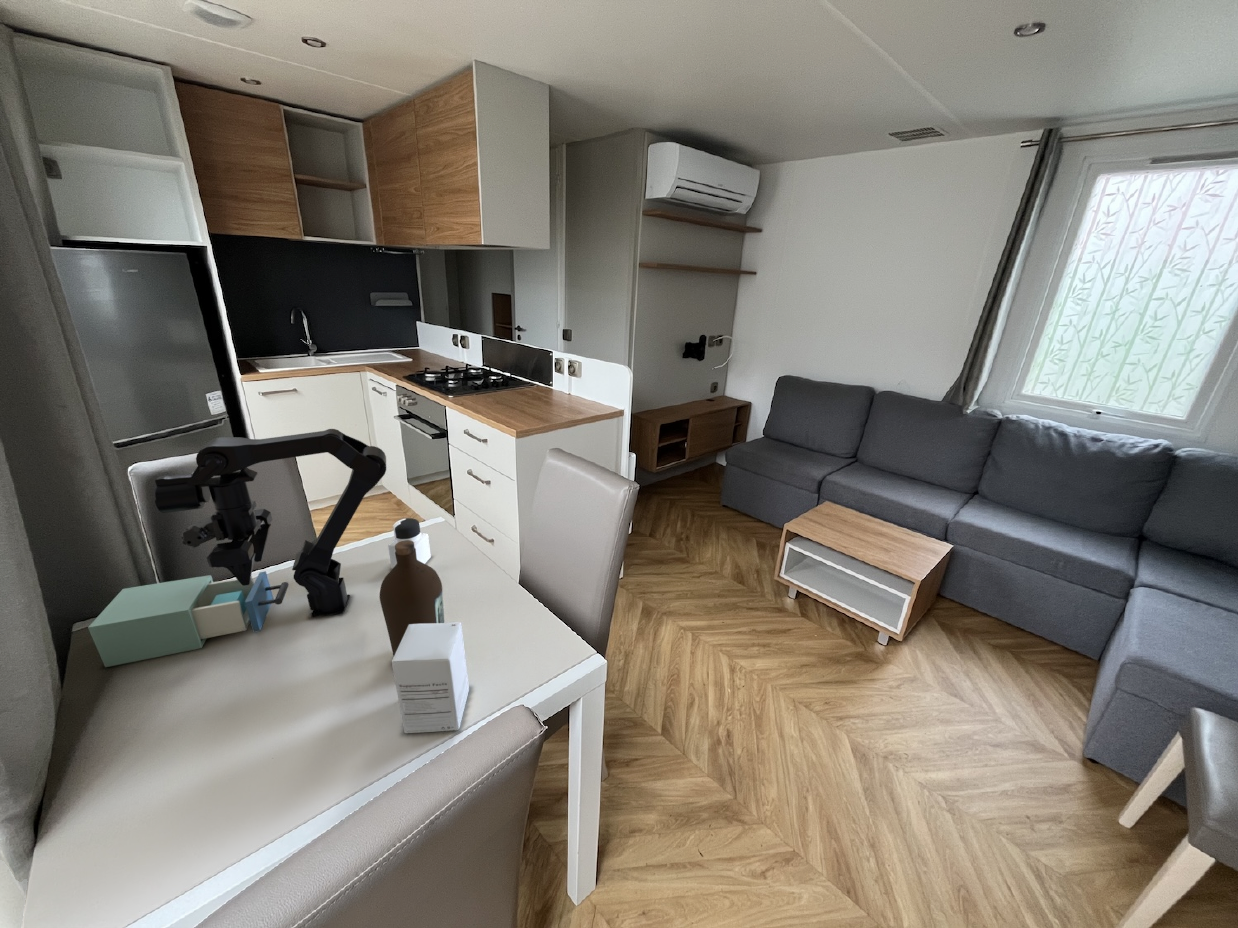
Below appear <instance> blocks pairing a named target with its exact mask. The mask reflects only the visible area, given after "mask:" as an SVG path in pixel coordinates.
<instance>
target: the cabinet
mask: <svg viewBox="0 0 1238 928" xmlns="http://www.w3.org/2000/svg"><path fill="white" fill-rule="evenodd" d="M212 582H214V580H213V577H212V575H211V574H209V575H202V576H196V577H190V578H184V579H183V578H182V579H177V580H170V581H163V582H158V583H151V584H146V585H139V586H132V587H126V588H122V589H121V591H119V593H118V594H117V595H116V596H115V597H114V598H113V599H112V600H111V602H110V603H109V604H107V606H106V607H105V608H104V609H103V610H102V611H101V612H100V614H98V616H97V617H96V618H95V619H94V620H93V621H92V622H91V623H90V624H89V626H88V627H87V629H88V631H89V633H90V636H91V638H92V641H93V643H94V645H95V647H96V651H97V652H98V654H99V656H100V659H101V661H102V663H103V665H104V668H109V667H114V666H119V665H124V664H130V663H134V662H135V663H136V662H139V661H143V660H149V659H154V658H155V659H156V658H159V657H164V656H171V655H176V654H180V653H184V652H189V651H194V650H199V649H202V648H203V646H204V644H205V642H207V639H208V638H204V639H200V636H199V633H198V630H197V627H196V624H195V621H194V619H193V616H192V613H191V610H192V608H193V607H194V605H195V603H196V602H197V600H198V599H199V597H200V596H201V594H202V593H203V591H204V590H205V588H206V586H207V585H208V583H212Z"/></svg>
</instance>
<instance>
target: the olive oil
mask: <svg viewBox="0 0 1238 928" xmlns="http://www.w3.org/2000/svg"><path fill="white" fill-rule="evenodd" d="M395 550H396V552H395V555H396V561H397V564H396V565H395V567H394V568H393V569H392V568H391V569H390V571H389V572H388V573H387V574H386V575H385V576H384V578H383V580H382V582H381V584H380V589H379V603H380V606H381V610H382V614H383V618H384V622H385V627H386V629H387V635H388V638H389V642H390V647H391V651H392V656H393V658H394V655H395V653H396V651H397V649H398V647H399V645H400V642H401V640H402V638H403V636H404V634H405V632H406V630H407V627H408V625H409V624H429V623H445V612H444V609H445V608H444V593H443V591H444V590H443V583H442V580H441V578H440V576H439V574H438V573H437V571H436V570H435V569H434V568H433V567H431V566H429V565H428V564H427V563H425V564H424V563H422V562H420V561H418V560H417V557H416V549H415V548H414V542H413V541H410V540H404V541H400V542H398V543H397V544H396V545H395Z"/></svg>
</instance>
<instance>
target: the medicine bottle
mask: <svg viewBox="0 0 1238 928" xmlns="http://www.w3.org/2000/svg"><path fill="white" fill-rule="evenodd" d="M392 530H393V535H394V536H393V537H394V539H393V540H392V541H391V542H390V543H389V544H388V545H387V549H388V555H389V560H390V567H391V570H392V569H393V568H394V567H395V565H396V564H397V561H396V555H395V552H396V550H395V545H396V544H397V543H398V542H400V541H404V540H410V541H413V542H414V548H415V549H416V557H417V560H418V561H420V562H422V563H424V564H427V562H428V561H429V560H430V559H431V557H432V554H431V547H430V540H429V538H430V537H429V534H428V533H424V532H423V533H422V532H421V526H420V521H419V520H418V519H416V518H411V517H406V518H402V519H398V520H397V521H396V522H394V524H392Z"/></svg>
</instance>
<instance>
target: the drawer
mask: <svg viewBox="0 0 1238 928" xmlns="http://www.w3.org/2000/svg"><path fill="white" fill-rule="evenodd" d="M289 585H290V584H289V582H287V581H284V582H281V584H276V585H272V586H271V584H270V581H269V578H268V574H267V571H266V570H265V571H260V572H259V573H258V575H257V576H256V578H255V581H254V579H253V576H252V575H251V579H250V584H249V585H245V586H243V585H242V584H241V583H240V582H239V581H238V580H237V579H236V578H231V579H225V580H218V581H213V582H212V583H208V585H207V586H206V588H205V590H204V591H203V593H202V594H201V596H200V597H199V599H198V600H197V602H196V603H195V605H194V607H193V608H192V610H191V613H192V616H193V619H194V621H195V624H196V627H197V630H198V633H199V636H200V639H204V638H207V639H209V638H214V637H219V636H224V635H230V634H234V633H239V632H245V631H247V630H248V627H249V625H251V629H252V632H253V633H257V632H261V630H262V628H263V625H264V623H265V620H266V619H267V616H268V613H269V610H270V609H271V606H272V604H275V605H281V604H283V601H284V598H285V595H286V593H287V591H288V588H289ZM274 590H278V591H277V592H276V593H277V594H276V596H275V598H274V596H273V592H272V591H274ZM237 591H242V593H243V597H244V600H245V605H246V608H247V609H246V611H245V613H244V615H243V612H242V609H241V606H240V602H239V601H233V602H227V603H221V604H216V605H211V604H212V602H213V600H214V599H215V597H216V595H220V594H226V593H232V592H237Z"/></svg>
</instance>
